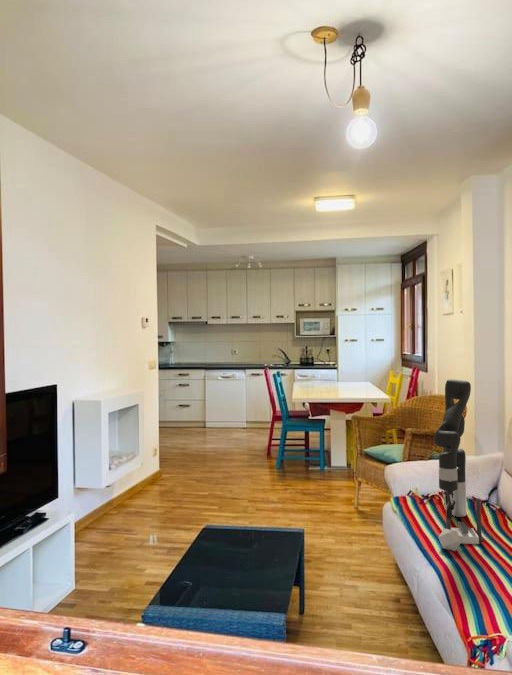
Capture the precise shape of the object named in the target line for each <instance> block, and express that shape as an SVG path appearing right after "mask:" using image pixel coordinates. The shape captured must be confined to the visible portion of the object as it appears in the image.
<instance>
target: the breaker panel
mask: <svg viewBox="0 0 512 675" xmlns="http://www.w3.org/2000/svg"><path fill="white" fill-rule="evenodd" d="M451 530H455V531H457V533H458V535H459V538H460V540H461V543H460V544H466V545H467V544H468V545H469V544H470V545H471V544H474V545H480V541H479V536H478V535H477V531H475V530H474V528H473V527H468V532H469V534H462V531H461V530H460V528H459V527H451Z"/></svg>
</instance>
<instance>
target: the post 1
mask: <svg viewBox="0 0 512 675" xmlns="http://www.w3.org/2000/svg"><path fill="white" fill-rule="evenodd" d="M445 517H446V516H445ZM445 520H446V522H445V524H446V526H445V527H446V528H445V529H450V530H451V528H452V527H451V525H452V524H451V520H452V519H447V517H446V518H445Z"/></svg>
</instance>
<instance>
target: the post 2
mask: <svg viewBox="0 0 512 675" xmlns="http://www.w3.org/2000/svg"><path fill="white" fill-rule="evenodd" d="M475 502H476V503H475V505H476V506H475V508H476V509H475V510H476V513H475V514H476V534H477V535H478V536H479V542H483V541H484V537H483V536H482V512H481V511H482V506H481V498H479V497H478V498H475Z"/></svg>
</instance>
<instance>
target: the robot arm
mask: <svg viewBox="0 0 512 675" xmlns="http://www.w3.org/2000/svg"><path fill="white" fill-rule="evenodd" d="M471 390H472V384H471V383H470V382H469V381H467V380H462V379H461V380H460V379H454V378H453V379H452V378H448V379H447V380H446V382H445V386H444V399H445V401H444V402H445V412H444V415H443V418H442V422H441V424H440V425H439V427H438V428H437V430H436V431H435V433H434V436H433V442H434V445H435V446H436V447H438V448H442V452H440V453H439V455H438V488H439V489H440V490H442V491H443V492H442V499H443V505H444V508H445V517H447V519H450V520H452V519H453V517H455V516H456V517H455V518H457V517H458V518H462V517H466V516H467V486H466V485H467V484H466V464H467V463H466V462H467V461H466V459H467V458H466V452H465V450H464V449H463V448H460V444H461V437H462V436H463V435H464V432H465V424H466V423H465V422H466V420H465V417H464V415H463V413H464V411H465V409H466V407H467V404H468V401H469V400H470V396H471V392H472V391H471ZM455 400H458V401H457V402H456V403H455ZM452 515H453V516H452Z"/></svg>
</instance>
